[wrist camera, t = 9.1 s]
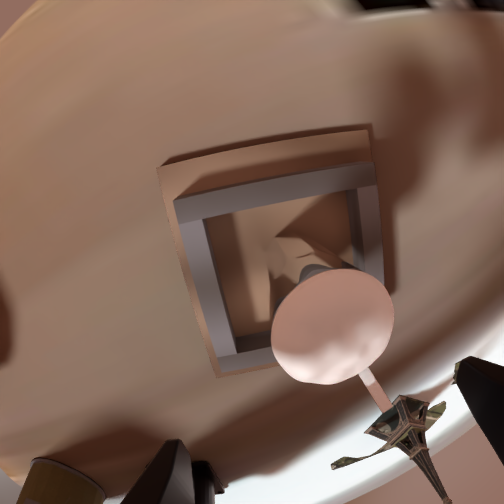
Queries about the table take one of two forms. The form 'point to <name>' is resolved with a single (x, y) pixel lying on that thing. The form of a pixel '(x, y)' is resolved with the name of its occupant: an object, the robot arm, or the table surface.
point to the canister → (58, 485)
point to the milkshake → (325, 314)
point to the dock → (266, 229)
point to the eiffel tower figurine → (407, 434)
